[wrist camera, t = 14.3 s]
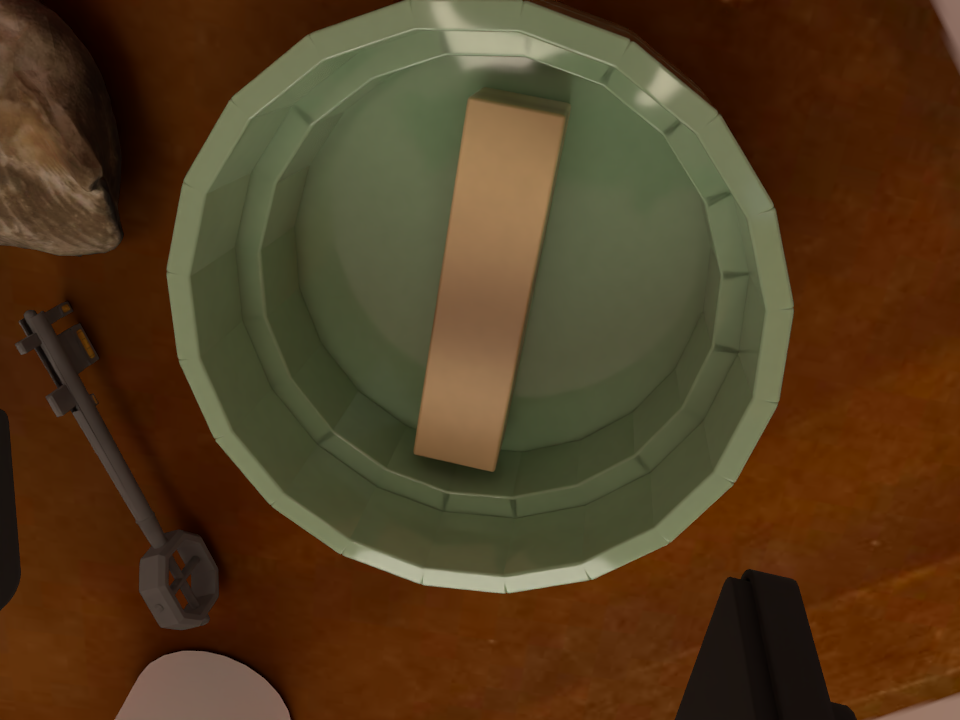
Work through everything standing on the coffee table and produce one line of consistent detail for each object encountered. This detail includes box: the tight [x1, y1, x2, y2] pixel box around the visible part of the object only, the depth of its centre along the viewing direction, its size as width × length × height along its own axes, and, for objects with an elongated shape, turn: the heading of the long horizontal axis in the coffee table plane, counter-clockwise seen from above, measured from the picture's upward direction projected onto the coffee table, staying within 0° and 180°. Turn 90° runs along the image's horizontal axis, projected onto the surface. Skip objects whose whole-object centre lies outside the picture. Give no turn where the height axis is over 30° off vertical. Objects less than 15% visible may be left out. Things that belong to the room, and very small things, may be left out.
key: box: [15, 301, 219, 630], centre depth 28 cm, size 12×1×3 cm, turn 20°
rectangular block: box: [413, 87, 571, 472], centre depth 24 cm, size 10×2×2 cm, turn 171°
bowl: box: [166, 0, 794, 594], centre depth 23 cm, size 14×14×6 cm
